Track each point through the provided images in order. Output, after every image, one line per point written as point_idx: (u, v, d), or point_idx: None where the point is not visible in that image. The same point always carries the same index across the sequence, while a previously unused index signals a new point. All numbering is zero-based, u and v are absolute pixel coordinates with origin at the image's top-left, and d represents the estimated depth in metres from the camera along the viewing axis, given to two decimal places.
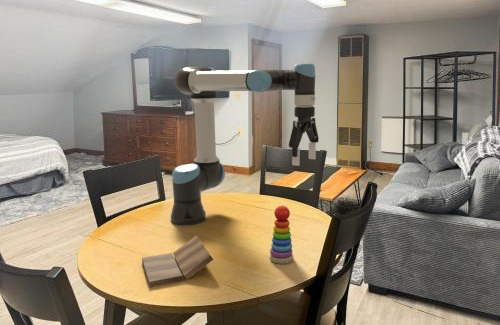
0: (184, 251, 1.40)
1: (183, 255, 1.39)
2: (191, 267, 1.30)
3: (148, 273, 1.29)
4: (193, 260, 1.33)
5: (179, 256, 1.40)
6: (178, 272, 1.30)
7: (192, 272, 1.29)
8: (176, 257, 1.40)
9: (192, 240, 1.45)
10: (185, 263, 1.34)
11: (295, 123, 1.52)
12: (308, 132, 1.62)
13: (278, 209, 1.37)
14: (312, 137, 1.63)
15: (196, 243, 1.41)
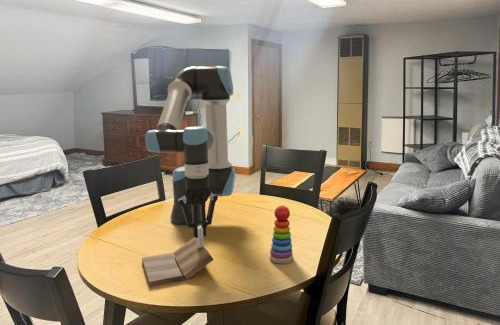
0: (184, 251, 1.40)
1: (183, 255, 1.39)
2: (191, 267, 1.30)
3: (148, 273, 1.29)
4: (193, 260, 1.33)
5: (179, 256, 1.40)
6: (178, 272, 1.30)
7: (192, 272, 1.29)
8: (176, 257, 1.40)
9: (192, 240, 1.45)
10: (185, 263, 1.34)
11: (179, 202, 1.32)
12: (200, 209, 1.36)
13: (278, 209, 1.37)
14: (201, 218, 1.35)
15: (196, 243, 1.41)
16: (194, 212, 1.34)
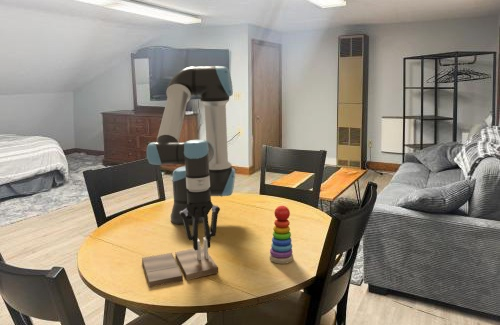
0: (188, 255, 1.41)
1: (187, 258, 1.39)
2: (195, 270, 1.30)
3: (148, 273, 1.29)
4: (198, 265, 1.34)
5: (182, 257, 1.40)
6: (178, 272, 1.30)
7: (195, 275, 1.29)
8: (179, 257, 1.41)
9: None
10: (189, 264, 1.35)
11: (180, 215, 1.33)
12: (203, 221, 1.37)
13: (278, 209, 1.37)
14: (205, 230, 1.36)
15: (203, 253, 1.42)
16: (195, 225, 1.34)
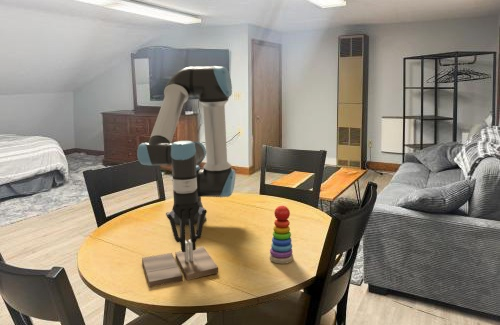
0: (188, 255, 1.41)
1: None
2: (195, 270, 1.30)
3: (148, 273, 1.29)
4: (198, 265, 1.34)
5: (182, 257, 1.40)
6: (178, 272, 1.30)
7: (195, 275, 1.29)
8: (179, 257, 1.41)
9: (198, 248, 1.46)
10: (189, 264, 1.35)
11: (167, 217, 1.32)
12: (189, 223, 1.35)
13: (278, 209, 1.37)
14: (190, 232, 1.35)
15: (203, 253, 1.42)
16: (182, 227, 1.33)
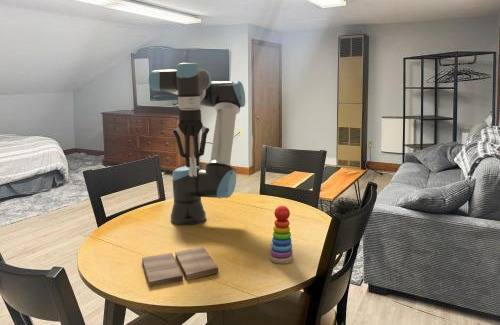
0: (188, 255, 1.41)
1: (187, 258, 1.39)
2: (195, 270, 1.30)
3: (148, 273, 1.29)
4: (198, 265, 1.34)
5: (182, 257, 1.40)
6: (178, 272, 1.30)
7: (195, 275, 1.29)
8: (179, 257, 1.41)
9: (198, 248, 1.46)
10: (189, 264, 1.35)
11: (173, 133, 1.44)
12: (193, 140, 1.47)
13: (278, 209, 1.37)
14: (194, 148, 1.47)
15: (203, 253, 1.42)
16: (186, 142, 1.45)
